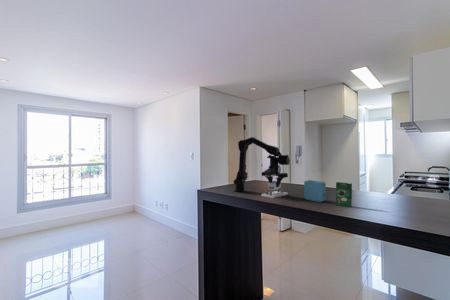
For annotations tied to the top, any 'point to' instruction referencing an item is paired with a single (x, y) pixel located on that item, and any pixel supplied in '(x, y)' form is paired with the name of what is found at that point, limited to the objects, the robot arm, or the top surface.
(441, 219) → the top surface
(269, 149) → the robot arm
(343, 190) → the coffee box
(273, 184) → the drive
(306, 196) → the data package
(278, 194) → the pin tray
